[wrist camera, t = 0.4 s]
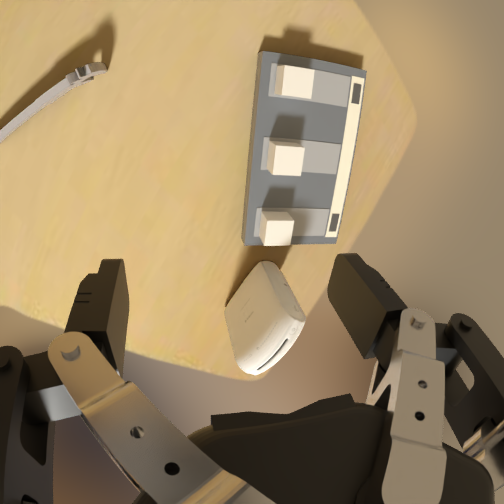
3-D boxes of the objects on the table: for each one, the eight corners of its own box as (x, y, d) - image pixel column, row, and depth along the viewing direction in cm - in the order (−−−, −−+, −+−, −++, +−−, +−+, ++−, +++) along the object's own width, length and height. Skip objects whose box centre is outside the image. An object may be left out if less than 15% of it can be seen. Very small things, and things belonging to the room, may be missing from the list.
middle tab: (269, 140, 32) (275, 145, 30) (296, 142, 32) (304, 147, 30) (266, 168, 33) (272, 174, 31) (293, 169, 34) (300, 176, 32)
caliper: (105, 63, 26) (89, 59, 21) (109, 71, 27) (94, 69, 21) (-26, 157, 26) (-54, 172, 21) (-23, 164, 27) (-50, 180, 21)
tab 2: (277, 66, 28) (284, 65, 26) (305, 70, 28) (314, 70, 26) (274, 94, 29) (281, 95, 27) (302, 97, 30) (311, 99, 28)
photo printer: (259, 254, 41) (288, 317, 31) (285, 266, 43) (318, 329, 33) (218, 310, 45) (233, 379, 34) (244, 319, 46) (263, 386, 36)
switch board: (258, 52, 29) (263, 50, 27) (357, 70, 31) (367, 70, 30) (241, 237, 39) (244, 246, 38) (329, 236, 42) (336, 244, 40)
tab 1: (261, 211, 36) (267, 220, 33) (287, 211, 36) (294, 220, 34) (258, 235, 37) (264, 245, 35) (283, 235, 38) (290, 245, 36)
